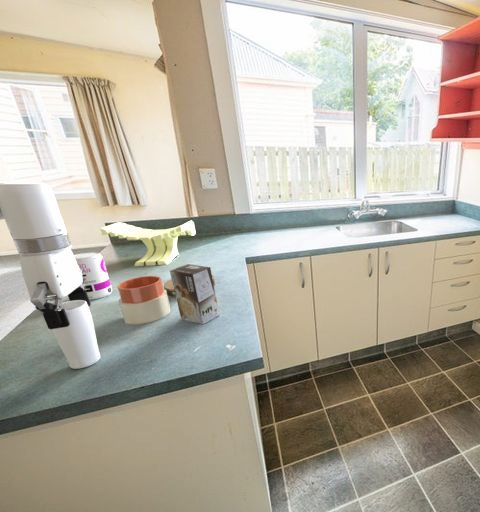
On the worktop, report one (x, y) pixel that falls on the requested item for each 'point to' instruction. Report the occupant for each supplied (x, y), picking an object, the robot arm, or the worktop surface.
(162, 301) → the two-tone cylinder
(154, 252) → the slatted curved stool
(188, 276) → the coffee box
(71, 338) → the white tumbler
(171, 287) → the brown flat disc
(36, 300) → the robot arm
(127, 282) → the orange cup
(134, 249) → the worktop surface
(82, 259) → the supplement can
